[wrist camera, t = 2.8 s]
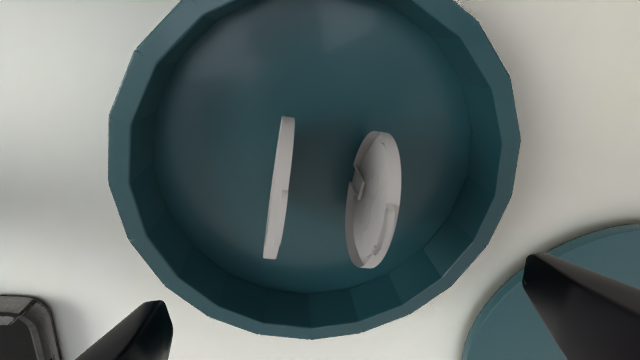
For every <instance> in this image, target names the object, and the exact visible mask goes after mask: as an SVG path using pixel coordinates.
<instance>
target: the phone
mask: <svg viewBox="0 0 640 360" xmlns="http://www.w3.org/2000/svg"><path fill="white" fill-rule="evenodd" d="M0 360H61V356H60V351H59V347H58V342H57V338H56V333H55V329H54V324H53V320H52V315H51V313H50V311H49V309H48V308H47V307H46V306H45V305H44V304H43V303H41V302H40V301H38V300H35V299H32V298H27V297H10V296H0Z"/></svg>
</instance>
